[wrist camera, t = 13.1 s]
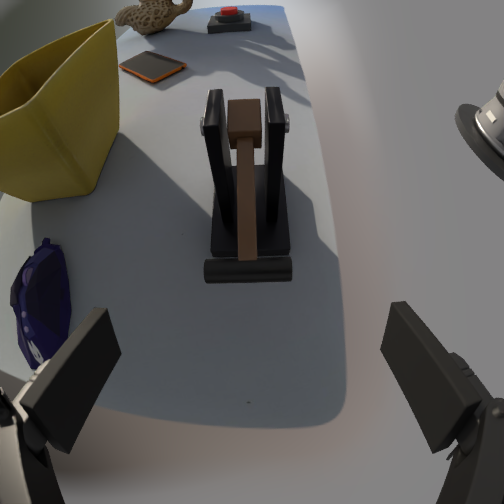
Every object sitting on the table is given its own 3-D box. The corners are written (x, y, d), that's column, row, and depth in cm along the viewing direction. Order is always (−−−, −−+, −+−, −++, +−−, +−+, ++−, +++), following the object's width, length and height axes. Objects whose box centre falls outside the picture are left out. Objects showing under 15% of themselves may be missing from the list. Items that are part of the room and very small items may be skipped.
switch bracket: (289, 255, 26) (309, 155, 14) (212, 257, 26) (179, 160, 14) (281, 172, 30) (288, 70, 19) (217, 174, 30) (199, 73, 19)
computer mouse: (15, 368, 21) (-9, 362, 17) (24, 250, 27) (5, 235, 24) (72, 371, 21) (47, 367, 18) (77, 236, 28) (59, 218, 24)
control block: (250, 20, 55) (249, 7, 51) (251, 30, 50) (250, 16, 47) (212, 22, 55) (210, 10, 51) (208, 33, 51) (206, 19, 47)
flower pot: (107, 217, 28) (28, 101, 13) (8, 225, 29) (-61, 155, 14) (146, 111, 37) (116, 16, 21) (53, 132, 37) (14, 62, 22)
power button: (237, 11, 50) (237, 6, 49) (237, 15, 49) (237, 9, 47) (221, 13, 50) (221, 7, 49) (220, 16, 49) (219, 10, 47)
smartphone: (147, 52, 48) (146, 49, 47) (188, 67, 42) (187, 63, 41) (117, 67, 45) (116, 64, 45) (153, 85, 40) (151, 81, 39)
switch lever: (289, 282, 18) (293, 280, 15) (209, 284, 18) (201, 282, 15) (278, 117, 20) (280, 98, 17) (212, 120, 20) (207, 100, 17)
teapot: (116, 48, 52) (102, 3, 39) (124, 35, 57) (114, -5, 44) (196, 28, 53) (189, -21, 40) (196, 18, 58) (190, -25, 44)
